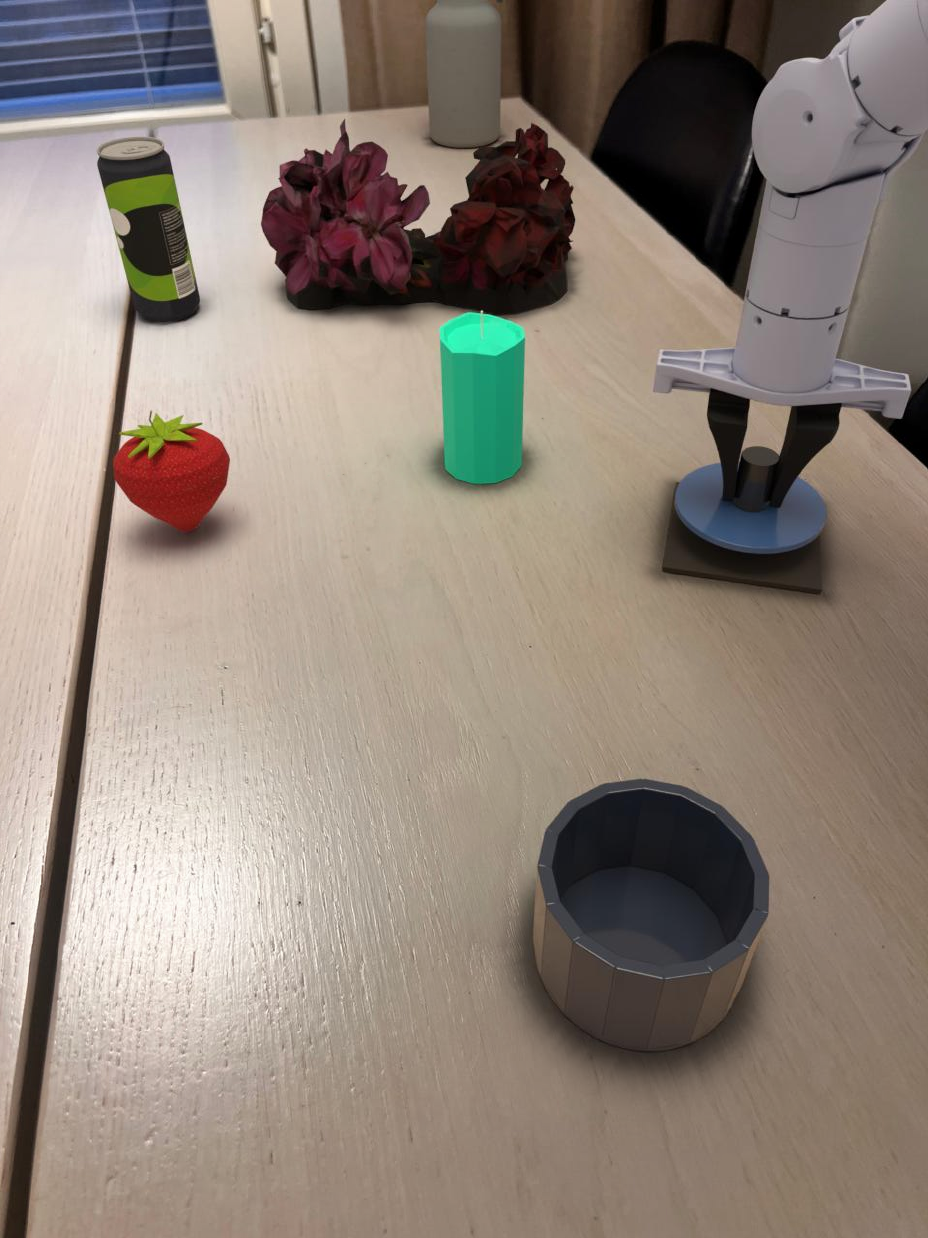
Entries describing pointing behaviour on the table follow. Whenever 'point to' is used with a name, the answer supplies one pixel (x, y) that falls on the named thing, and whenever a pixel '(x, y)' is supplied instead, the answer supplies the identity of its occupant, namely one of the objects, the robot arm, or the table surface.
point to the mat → (741, 561)
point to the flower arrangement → (407, 260)
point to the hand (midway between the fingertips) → (751, 496)
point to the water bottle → (464, 72)
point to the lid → (750, 507)
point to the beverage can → (149, 227)
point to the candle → (482, 397)
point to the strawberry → (172, 471)
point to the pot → (647, 912)
